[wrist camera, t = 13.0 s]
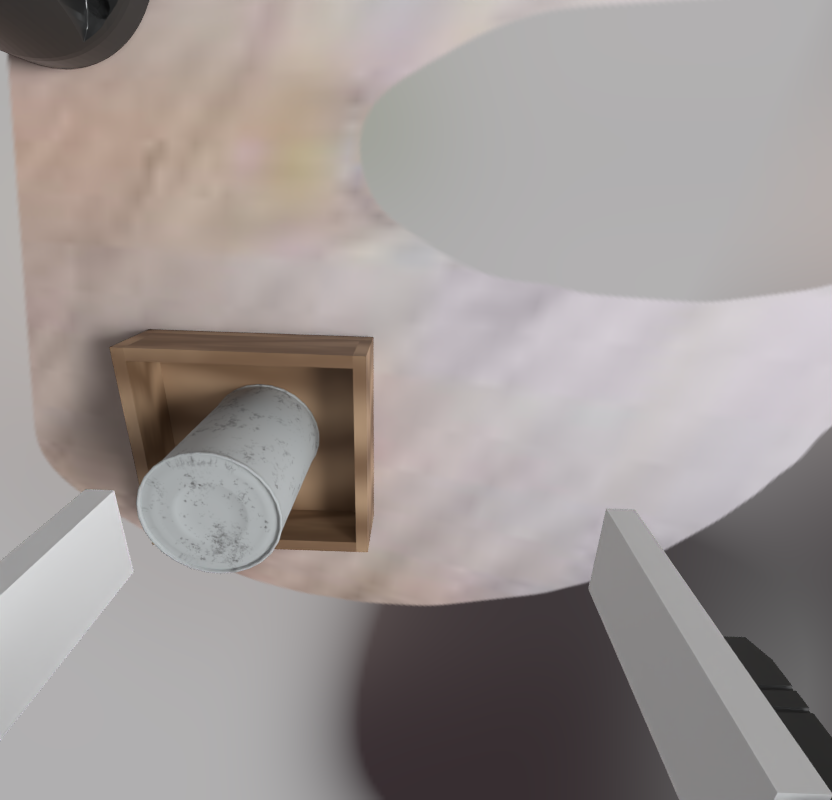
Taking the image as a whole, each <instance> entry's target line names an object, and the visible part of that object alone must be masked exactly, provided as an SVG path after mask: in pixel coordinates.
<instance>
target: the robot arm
mask: <svg viewBox="0 0 832 800" xmlns="http://www.w3.org/2000/svg"><path fill="white" fill-rule="evenodd" d="M148 2H149V0H0V50H1V51H3V52H6V53H8V54H11V55H14V56H16V57H19V58H22V59H24V60H27V61H30V62H33V63H36V64H39V65H43V66H47V67H53V68H62V69H72V68H81V67H86V66H90V65H93V64H96V63H98V62H101V61H103V60H105V59H106V58H108V57H110V56H111V55H113V54H114V53H116V52H117V51H118V50H119V49H120V48H122V47H123V46H124V45H125V44H126V43H127V41H128V40H129V39H130V38H131V36H132V35H133V34H134V32H135V31H136V29H137V28H138V26H139V24H140V22H141V20H142V18H143V16H144V14H145V11H146V8H147V6H148ZM133 572H134V571H133V567H132V563H131V559H130V554H129V550H128V546H127V542H126V538H125V534H124V530H123V525H122V521H121V517H120V513H119V509H118V504H117V500H116V496H115V492H114V490H90V489H85V490H84V491H83V492H82V493H80V494H79V495H78V496H77V497H76V498H74V499H73V500H72V501H71V502H70V503H69V504H67V505H66V506H65V507H64V508H63V509H61V510H60V511H59V512H58V513H57V514H55V515H54V516H53V517H52V518H51V519H50V520H48V521H47V522H46V523H45V524H44V525H43V526H41V527H40V528H39V529H38V530H37V531H35V532H34V533H33V534H32V535H31V536H29V537H28V538H27V539H26V540H25V541H23V542H22V543H21V544H20V545H19V546H17V547H16V548H15V549H14V550H13V551H11V552H10V553H9V554H8V555H7V556H6V557H5V558H3V559H2V560H1V561H0V741H1V739H2V738H3V737H4V736H5V734H6V733H7V732H8V731H9V729H10V728H11V727H12V725H13V724H14V723H15V722H16V720H17V719H18V718H19V717H20V715H21V714H22V712H23V711H24V710H25V709H26V708H27V706H28V705H29V704H30V703H31V701H32V700H33V699H34V698H35V696H36V695H37V694H38V693H39V691H40V690H41V689H42V687H43V686H44V685H45V684H46V682H47V681H48V680H49V679H50V677H51V676H52V675H53V674H54V672H55V671H56V670H57V668H58V667H59V666H60V664H61V663H62V662H63V661H64V660H65V658H66V657H67V656H68V655H69V653H70V652H71V651H72V650H73V648H74V647H75V646H76V644H77V643H78V642H79V641H80V639H81V638H82V637H83V636H84V634H85V633H86V632H87V631H88V629H89V628H90V627H91V625H92V624H93V623H94V622H95V620H96V619H97V618H98V617H99V615H100V614H101V613H102V612H103V610H104V609H105V608H106V606H107V605H108V604H109V603H110V601H111V600H112V599H113V597H114V596H115V595H116V594H117V593H118V591H119V590H120V589H121V587H122V586H123V585H124V583H125V582H126V581H127V580H128V579H129V577H130V576H131V575H132V574H133ZM589 591H590V594H591V596H592V598H593V601H594V603H595V605H596V607H597V610H598V612H599V614H600V617H601V619H602V621H603V624H604V626H605V628H606V631H607V633H608V635H609V637H610V640H611V642H612V645H613V647H614V649H615V651H616V654H617V656H618V659H619V661H620V663H621V665H622V668H623V670H624V672H625V675H626V677H627V679H628V682H629V684H630V686H631V688H632V691H633V693H634V696H635V698H636V700H637V703H638V705H639V707H640V710H641V712H642V714H643V717H644V719H645V721H646V724H647V726H648V728H649V730H650V733H651V735H652V737H653V740H654V742H655V744H656V746H657V749H658V751H659V754H660V756H661V758H662V761H663V763H664V765H665V767H666V770H667V772H668V775H669V777H670V779H671V782H672V784H673V786H674V788H675V791H676V793H677V795H678V798H679V800H832V737H831V736H830V734H829V733H828V732H827V731H826V729H825V728H824V727H823V725H822V724H821V723H820V722H819V720H818V719H817V718H816V716H815V715H814V714H813V713H810V712H809V707H808V706H807V705H806V703H805V702H804V701H803V699H802V698H801V697H800V695H799V694H798V693H797V691H793V689H792V685H791V684H790V683H789V681H788V680H787V679H786V677H785V676H784V675H783V673H782V672H781V671H780V670H779V668H778V667H777V666H776V664H775V663H774V662H773V660H772V659H771V658H769V657H768V656H767V655H765V653H763V652H762V651H761V650H760V649H759V648H757V647H756V646H755V645H754V644H753V643H751V642H750V641H749V640H748V639H747V638H745V637H723V636H722V634H721V633H720V632H719V630H718V629H717V627H716V626H715V624H714V623H713V621H712V620H711V618H710V617H709V616H708V614H707V613H706V611H705V610H704V608H703V607H702V606H701V604H700V603H699V601H698V600H697V598H696V597H695V595H694V594H693V593H692V591H691V590H690V588H689V587H688V585H687V584H686V583H685V581H684V580H683V578H682V577H681V575H680V574H679V573H678V571H677V570H676V568H675V567H674V566H673V564H672V562H671V561H670V560H669V558H668V557H667V555H666V554H665V552H664V551H663V549H662V548H661V547H660V545H659V544H658V542H657V541H656V539H655V538H654V536H653V535H652V534H651V532H650V531H649V529H648V528H647V526H646V525H645V524H644V522H643V521H642V519H641V518H640V516H639V515H638V513H637V512H636V511H635V510H628V509H606V512H605V516H604V521H603V525H602V530H601V535H600V539H599V544H598V548H597V553H596V557H595V562H594V566H593V571H592V575H591V580H590V584H589Z"/></svg>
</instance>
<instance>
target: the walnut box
mask: <svg viewBox="0 0 832 800" xmlns="http://www.w3.org/2000/svg"><path fill="white" fill-rule="evenodd" d="M109 348H110V353H111V357H112V362H113V367H114V371H115V376H116V380H117V385H118V390H119V394H120V399H121V403H122V408H123V412H124V417H125V422H126V426H127V431H128V435H129V440H130V444H131V449H132V454H133V458H134V463H135V467H136V472H137V476H138V481H139V486H140V484H141V482H142V480H143V478H144V476H145V475H146V474H147V473H148V472H149V471H150V470H151V468H152V467H153V466H154V465H156V464H157V463H159V462H161V461H162V460H163V459H164V458H165V457H166V456H167V455H168V454H169V453H170V452H171V451H172V450H173V449H174V448H175V447H176V446H177V445H178V444H179V443H180V442H181V441H182V440H183V439H184V438H185V437H186V436H187V435H188V434H189V433H190V432H191V431H192V430H193V429H194V428H195V427H196V426H197V425H199V424H200V423H201V422H202V421H203V420H204V419H205V418H206V417H207V416H208V415H209V414H210V413H211V412H212V411H213V410H214V409H215V408H216V407H217V406H218V405H219V403H220V402H221V401H222V400H223V399H224V398H225V397H226V396H227V395H228V394H230V393H231V392H233V391H234V390H236V389H238V388H241V387H244V386H247V385H256V384H263V385H272V386H275V387H278V388H282V389H284V390H286V391H288V392H290V393H292V394H293V395H295V396H296V397H298V398H299V399H300V400H301V401H302V402H304V403H305V405H306V406H307V407H308V408H309V410H310V411H311V412H312V414H313V416H314V418H315V420H316V422H317V426H318V430H319V446H318V450H317V453H316V456H315V457H314V459H313V461H312V462H311V465H310V467H309V469H308V472H307V474H306V476H305V479H304V481H303V483H302V486H301V488H300V490H299V492H298V495H297V497H296V499H295V502H294V504H293V506H292V509H291V511H290V513H289V515H288V518H287V520H286V522H285V525H284V527H283V529H282V532H281V536H280V539H279V542H278V544H277V545H276V547H275V548H274V549H290V550H319V551H347V552H368V547H369V541H370V534H371V528H372V522H373V516H374V425H373V337H353V336H324V335H295V334H267V333H238V332H210V331H181V330H152V329H149V330H146V331H144V332H142V333H140V334H138V335H135V336H133V337H131V338H129V339H127V340H124V341H122V342H120V343H118V344H115V345H113V346H111V347H109ZM152 544H153V545H155V544H154V543H152Z"/></svg>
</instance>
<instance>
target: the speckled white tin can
mask: <svg viewBox="0 0 832 800" xmlns="http://www.w3.org/2000/svg"><path fill="white" fill-rule="evenodd" d="M318 446H319V430H318V426H317V422H316V420H315V418H314V416H313V414H312V412H311V411H310V410H309V408H308V407H307V406H306V405H305V403H304V402H302V401H301V400H300V399H299V398H298V397H296V396H295V395H293V394H292V393H290V392H288V391H286V390H284V389H282V388H278V387H275V386H272V385H263V384H256V385H247V386H244V387H241V388H238V389H236V390H234V391H233V392H231V393H230V394H228V395H227V396H226V397H225V398H224V399H223V400H222V401H221V402H220V403H219V405H218V406H217V407H216V408H215V409H214V410H213V411H212V412H211V413H210V414H209V415H208V416H207V417H206V418H205V419H204V420H203V421H202V422H201V423H200V424H199V425H197V426H196V427H195V428H194V429H193V430H192V431H191V432H190V433H189V434H188V435H187V436H186V437H185V438H184V439H183V440H182V441H181V442H180V443H179V444H178V445H177V446H176V447H175V448H174V449H173V450H172V451H171V452H170V453H169V454H168V455H167V456H166V457H165V458H164V459H163V460H162V461H161V462H159V463H157V464H156V465H154V466H153V467H152V468H151V470H150V471H149V472H148V473H147V474H146V475H145V476H144V478H143V480H142V482H141V484H140V486H139V489H138V494H137V501H136V505H137V512H138V517H139V520H140V522H141V525H142V527H143V530H144V531H145V533H146V534H147V536H148V537H149V538H150V540H151V541H152V543H154V544H155V545H156V546H157V547H158V548H159V549H160V550H161V551H162V552H163V553H164V554H166V555H167V556H169V557H170V558H172V559H173V560H175V561H176V562H178V563H180V564H183V565H185V566H187V567H189V568H193V569H196V570H200V571H204V572H210V573H220V574H221V573H234V572H239V571H242V570H246V569H249V568H251V567H253V566H255V565H257V564H259V563H261V562H262V561H263V560H264V559H265V558H267V557H268V556H269V555H270V554H271V553H272V552H273V550H274V548H275V547H276V545H277V544H278V542H279V539H280V536H281V532H282V529H283V527H284V525H285V522H286V520H287V518H288V515H289V513H290V511H291V509H292V506H293V504H294V502H295V499H296V497H297V495H298V492H299V490H300V488H301V486H302V483H303V481H304V479H305V476H306V474H307V472H308V469H309V467H310V465H311V462H312V461H313V459H314V457H315V456H316V453H317V450H318Z"/></svg>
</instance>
